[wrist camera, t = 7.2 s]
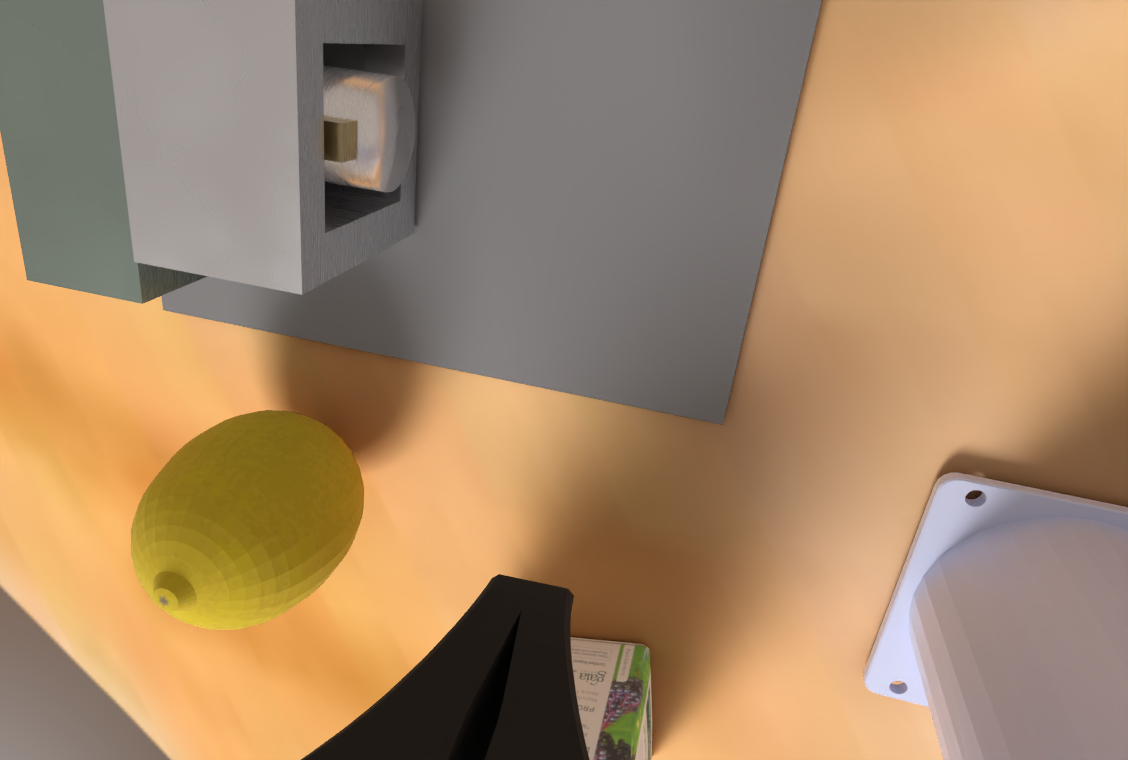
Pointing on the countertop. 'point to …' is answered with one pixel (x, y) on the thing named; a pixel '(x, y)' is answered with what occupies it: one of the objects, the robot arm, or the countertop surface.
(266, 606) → the lemon
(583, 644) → the syrup box
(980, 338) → the countertop surface
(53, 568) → the countertop surface
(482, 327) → the mat
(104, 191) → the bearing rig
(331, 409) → the countertop surface
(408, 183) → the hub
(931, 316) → the countertop surface
